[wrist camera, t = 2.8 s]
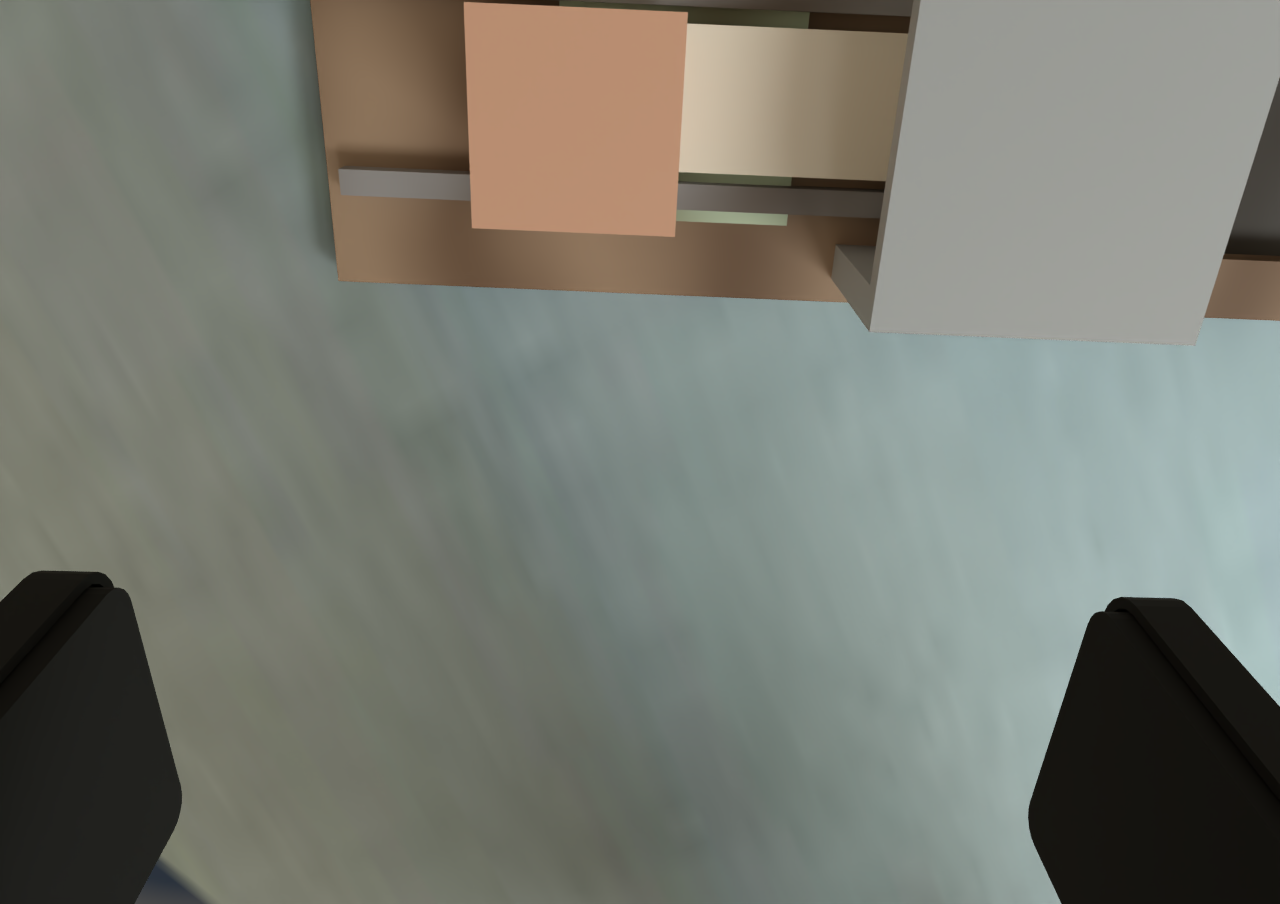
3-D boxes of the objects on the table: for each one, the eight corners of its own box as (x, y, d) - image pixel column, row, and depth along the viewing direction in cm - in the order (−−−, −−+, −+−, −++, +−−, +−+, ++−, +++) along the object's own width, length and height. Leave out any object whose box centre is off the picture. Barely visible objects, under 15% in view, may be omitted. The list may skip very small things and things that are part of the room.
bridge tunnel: (1199, -86, 23) (1339, -113, 18) (1101, 289, 27) (1195, 345, 22) (881, -101, 23) (941, -132, 18) (830, 278, 27) (869, 332, 22)
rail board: (1513, -98, 24) (1570, -105, 22) (1353, 315, 28) (1391, 331, 27) (307, -156, 23) (284, -167, 22) (348, 272, 28) (332, 286, 26)
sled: (1255, 28, 24) (1524, 32, 16) (1201, 209, 26) (1420, 284, 18) (519, -6, 23) (462, -18, 16) (521, 179, 25) (472, 243, 18)
